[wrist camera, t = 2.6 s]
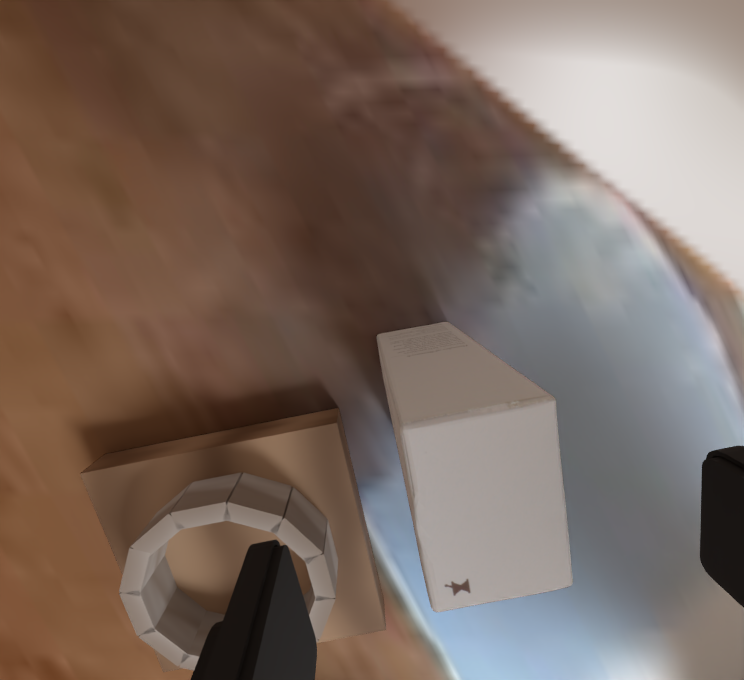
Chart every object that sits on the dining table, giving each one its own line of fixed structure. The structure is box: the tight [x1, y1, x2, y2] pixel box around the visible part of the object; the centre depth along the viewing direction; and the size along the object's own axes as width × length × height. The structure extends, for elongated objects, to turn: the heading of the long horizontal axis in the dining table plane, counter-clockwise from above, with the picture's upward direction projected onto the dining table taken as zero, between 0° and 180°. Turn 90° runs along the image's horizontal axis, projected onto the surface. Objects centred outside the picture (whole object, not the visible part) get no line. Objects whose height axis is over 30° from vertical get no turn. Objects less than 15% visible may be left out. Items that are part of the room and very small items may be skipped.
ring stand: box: [80, 408, 386, 672], centre depth 21 cm, size 14×14×4 cm
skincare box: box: [377, 322, 573, 612], centre depth 16 cm, size 6×4×12 cm
